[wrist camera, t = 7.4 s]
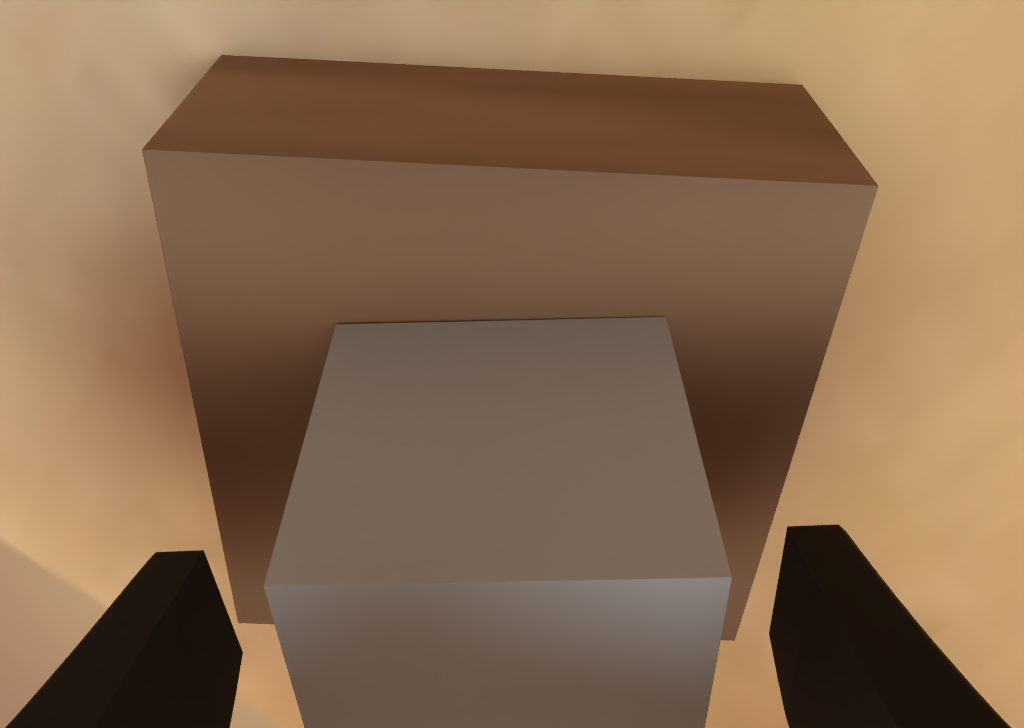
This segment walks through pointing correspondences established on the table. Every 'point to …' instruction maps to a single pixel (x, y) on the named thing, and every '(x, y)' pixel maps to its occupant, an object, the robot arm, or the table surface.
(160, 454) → the table surface
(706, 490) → the grey cube
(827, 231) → the walnut block
